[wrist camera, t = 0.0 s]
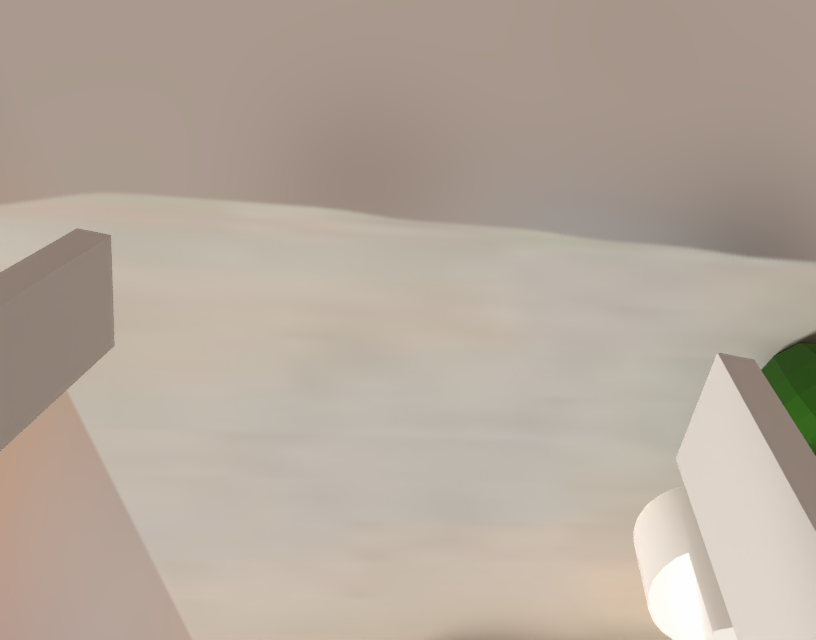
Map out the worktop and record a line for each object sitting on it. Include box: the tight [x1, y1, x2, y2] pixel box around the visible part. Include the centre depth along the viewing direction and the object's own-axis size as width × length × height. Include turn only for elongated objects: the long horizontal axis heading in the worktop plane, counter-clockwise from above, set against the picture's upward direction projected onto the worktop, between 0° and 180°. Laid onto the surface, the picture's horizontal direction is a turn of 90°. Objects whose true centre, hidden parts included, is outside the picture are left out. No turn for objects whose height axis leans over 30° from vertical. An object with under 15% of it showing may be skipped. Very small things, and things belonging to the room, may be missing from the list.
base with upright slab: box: [634, 485, 737, 640], centre depth 45 cm, size 9×9×12 cm
